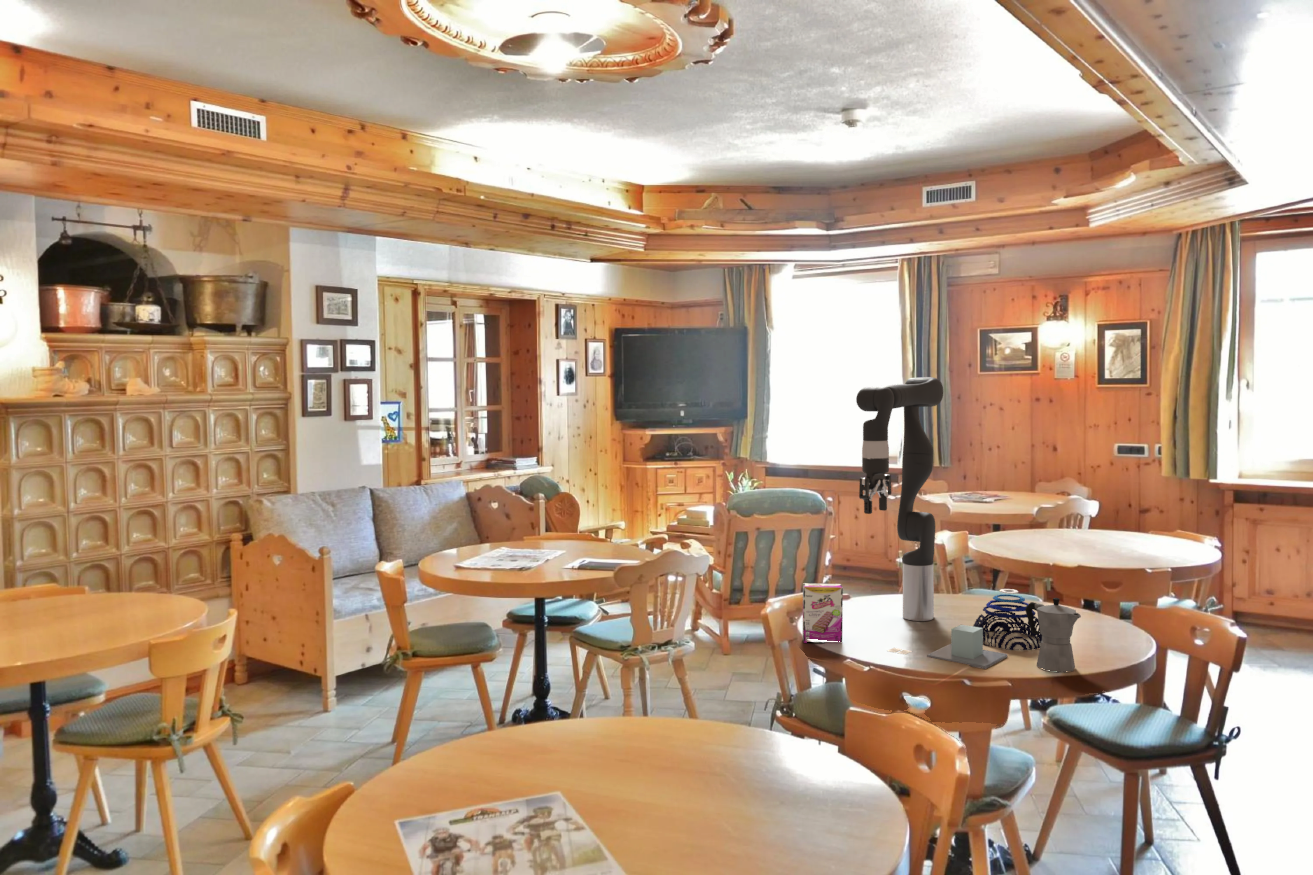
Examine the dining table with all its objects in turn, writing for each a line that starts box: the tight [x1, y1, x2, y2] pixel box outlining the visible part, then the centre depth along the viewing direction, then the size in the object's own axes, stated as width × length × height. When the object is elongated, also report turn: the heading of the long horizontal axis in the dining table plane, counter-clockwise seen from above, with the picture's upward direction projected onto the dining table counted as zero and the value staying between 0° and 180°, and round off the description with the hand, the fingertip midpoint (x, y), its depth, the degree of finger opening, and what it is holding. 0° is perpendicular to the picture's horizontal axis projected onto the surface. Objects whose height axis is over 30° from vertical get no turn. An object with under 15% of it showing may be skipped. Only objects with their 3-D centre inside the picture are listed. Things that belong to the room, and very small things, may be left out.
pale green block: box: [950, 624, 984, 659], centre depth 251 cm, size 6×6×7 cm
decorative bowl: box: [972, 588, 1042, 651], centre depth 267 cm, size 20×20×14 cm
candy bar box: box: [802, 582, 844, 644], centre depth 269 cm, size 11×5×16 cm, turn 84°
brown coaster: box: [887, 647, 913, 655], centre depth 257 cm, size 14×14×1 cm
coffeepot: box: [1024, 597, 1082, 673], centre depth 242 cm, size 15×9×18 cm, turn 33°
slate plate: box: [926, 643, 1008, 670], centre depth 251 cm, size 14×16×1 cm
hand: (875, 511), depth 274 cm, fingers open, 8 cm apart
